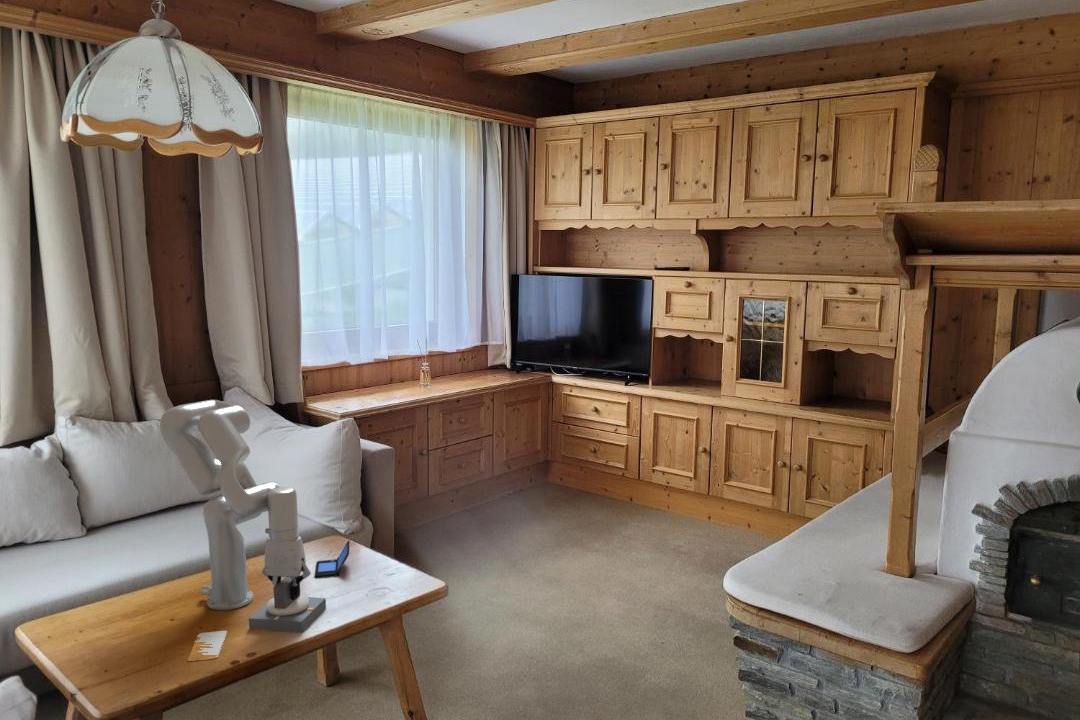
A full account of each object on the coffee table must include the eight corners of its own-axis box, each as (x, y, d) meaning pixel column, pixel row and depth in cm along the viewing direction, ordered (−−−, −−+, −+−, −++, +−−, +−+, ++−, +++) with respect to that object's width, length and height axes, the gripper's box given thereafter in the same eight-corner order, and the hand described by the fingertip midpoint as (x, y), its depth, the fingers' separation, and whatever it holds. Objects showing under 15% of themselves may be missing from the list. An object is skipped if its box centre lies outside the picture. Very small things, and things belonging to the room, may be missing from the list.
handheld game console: (316, 564, 261) (315, 542, 260) (350, 561, 263) (349, 539, 262) (314, 579, 249) (313, 556, 248) (350, 576, 251) (349, 553, 250)
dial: (279, 597, 227) (277, 571, 226) (315, 599, 225) (314, 574, 224) (259, 614, 216) (257, 587, 215) (297, 616, 215) (296, 590, 214)
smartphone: (185, 661, 198) (198, 633, 212) (186, 664, 198) (198, 636, 212) (217, 657, 199) (227, 630, 214) (217, 660, 199) (228, 632, 214)
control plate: (249, 628, 215) (248, 617, 215) (276, 605, 230) (275, 594, 230) (301, 632, 213) (301, 621, 212) (326, 608, 227) (325, 597, 227)
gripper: (248, 536, 216) (252, 601, 218) (306, 539, 213) (310, 605, 216) (262, 527, 223) (266, 590, 226) (319, 530, 221) (322, 594, 223)
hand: (287, 597), depth 221 cm, fingers open, 3 cm apart
